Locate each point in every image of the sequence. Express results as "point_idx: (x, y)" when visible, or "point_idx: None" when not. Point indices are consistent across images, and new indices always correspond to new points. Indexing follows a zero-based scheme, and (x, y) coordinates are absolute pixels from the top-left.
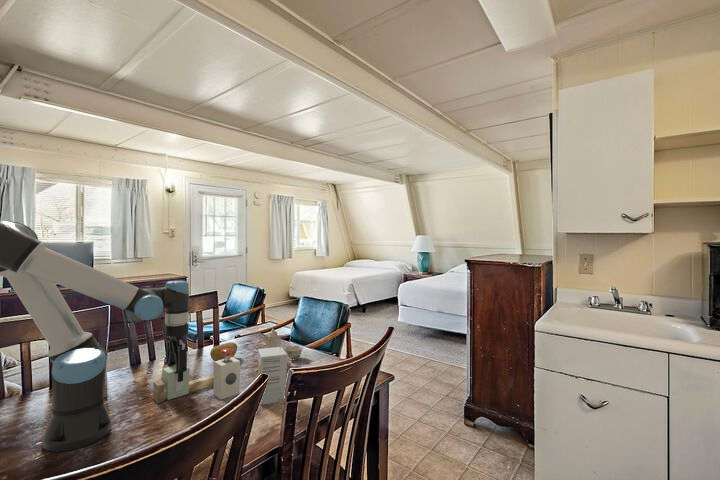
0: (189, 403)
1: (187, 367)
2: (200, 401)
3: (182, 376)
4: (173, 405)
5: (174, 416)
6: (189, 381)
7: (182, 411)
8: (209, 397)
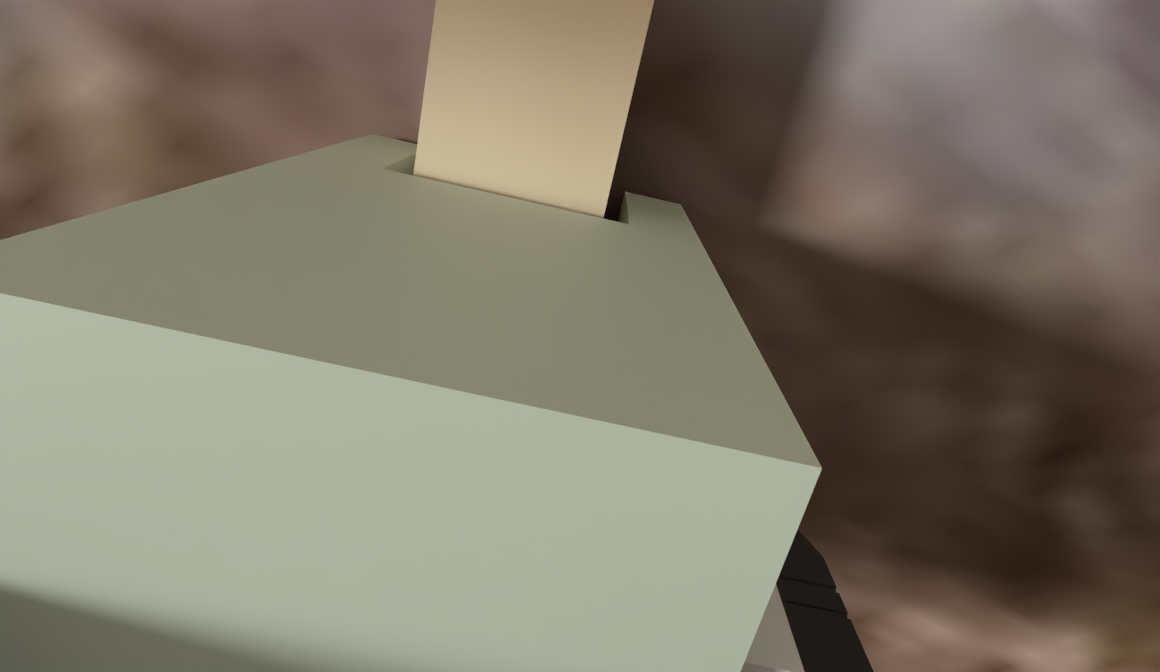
0: (970, 386)
1: (706, 497)
2: (1095, 253)
3: (852, 654)
4: (799, 529)
5: (1070, 668)
6: (456, 59)
7: (1067, 562)
8: (1146, 59)
